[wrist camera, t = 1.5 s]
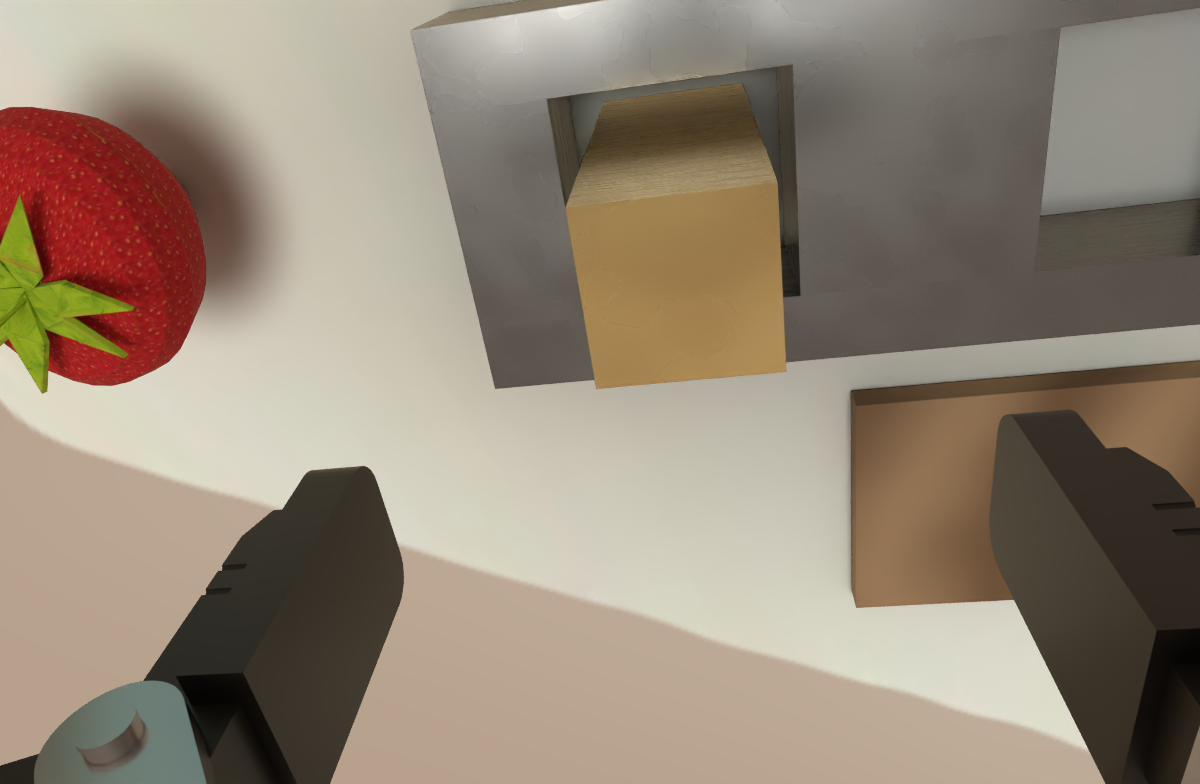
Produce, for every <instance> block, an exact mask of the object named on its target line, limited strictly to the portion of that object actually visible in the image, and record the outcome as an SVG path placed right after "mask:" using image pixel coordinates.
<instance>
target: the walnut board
mask: <svg viewBox="0 0 1200 784" xmlns="http://www.w3.org/2000/svg"><path fill="white" fill-rule="evenodd" d="M1068 409H1071V410H1074V411H1075V412H1077V413H1078V414H1079V415H1080V417H1081V418H1082V419H1083V420H1084V422H1085V423H1086V424H1087V425H1088V427H1089V428H1090V429H1091V430H1092V432H1093V433H1094V434H1095V435H1096V436H1097V438H1098V439H1099V440H1100V441H1101V443H1102V444H1103V445H1104V446H1105V448H1118V447H1127V448H1129V449H1131V450H1133V451H1134V452H1136V453H1138V454H1140V455H1141V456H1143V457H1145V458H1146V459H1148V460H1150V461H1152V462H1153V463H1155V464H1157V465H1159V466H1160V467H1162V468H1164V469H1165V470H1167V471H1169V473H1170V474H1171V475H1172V476H1173V477H1174V478H1175V479H1176V480H1177V482H1178V483H1179V484H1180V485H1181V486H1182V487H1183V488H1184V489H1185V491H1186V492H1187V493H1188V494H1189V495H1190V496H1191V497H1192V499H1193V500H1194V501H1195V506H1196V508H1199V507H1200V361H1194V362H1183V363H1171V364H1159V365H1148V366H1136V367H1124V368H1113V369H1101V370H1090V371H1078V372H1066V373H1055V374H1043V375H1032V376H1020V377H1008V378H997V379H985V380H973V381H962V382H950V383H939V384H927V385H915V386H904V387H892V388H880V389H869V390H857V391H851V547H852V593H853V597H854V601H855V605H856V608H862V607H881V606H901V605H920V604H940V603H959V602H978V601H998V600H1014V599H1013V597H1012V595H1011V593H1010V591H1009V589H1008V587H1007V585H1006V583H1005V581H1004V579H1003V577H1002V575H1001V573H1000V571H999V568H998V566H997V563H996V561H995V557H994V554H993V550H992V545H991V539H990V530H989V514H990V503H991V493H992V482H993V472H994V462H995V451H996V441H997V432H998V426H999V423H1000V420H1001V418H1002V417H1003V416H1004V415H1007V414H1019V413H1032V412H1044V411H1056V410H1068Z"/></svg>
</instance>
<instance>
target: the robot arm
mask: <svg viewBox="0 0 1200 784" xmlns="http://www.w3.org/2000/svg"><path fill="white" fill-rule="evenodd" d="M989 530H990V539H991V545H992V550H993V554H994V557H995V561H996V563H997V566H998V568H999V571H1000V573H1001V575H1002V577H1003V579H1004V581H1005V583H1006V585H1007V587H1008V589H1009V591H1010V593H1011V595H1012V597H1013V599H1014V601H1015V603H1016V605H1017V607H1018V609H1019V611H1020V613H1021V615H1022V617H1023V619H1024V621H1025V623H1026V625H1027V627H1028V629H1029V631H1030V633H1031V635H1032V637H1033V639H1034V641H1035V643H1036V645H1037V647H1038V649H1039V651H1040V653H1041V655H1042V657H1043V659H1044V661H1045V663H1046V665H1047V667H1048V669H1049V671H1050V673H1051V675H1052V677H1053V679H1054V681H1055V683H1056V685H1057V687H1058V689H1059V691H1060V693H1061V695H1062V697H1063V699H1064V701H1065V703H1066V705H1067V707H1068V709H1069V711H1070V713H1071V715H1072V717H1073V719H1074V721H1075V723H1076V725H1077V727H1078V729H1079V731H1080V733H1081V735H1082V737H1083V739H1084V741H1085V743H1086V745H1087V747H1088V749H1089V751H1090V753H1091V755H1092V757H1093V759H1094V761H1095V763H1096V765H1097V767H1098V769H1099V771H1100V773H1101V775H1102V777H1103V779H1104V781H1105V784H1200V507H1199V508H1196V506H1195V501H1194V500H1193V499H1192V497H1191V496H1190V495H1189V494H1188V493H1187V492H1186V491H1185V489H1184V488H1183V487H1182V486H1181V485H1180V484H1179V483H1178V482H1177V480H1176V479H1175V478H1174V477H1173V476H1172V475H1171V474H1170V473H1169V471H1167V470H1165V469H1164V468H1162V467H1160V466H1159V465H1157V464H1155V463H1153V462H1152V461H1150V460H1148V459H1146V458H1145V457H1143V456H1141V455H1140V454H1138V453H1136V452H1134V451H1133V450H1131V449H1129V448H1127V447H1118V448H1105V446H1104V445H1103V444H1102V443H1101V441H1100V440H1099V439H1098V438H1097V436H1096V435H1095V434H1094V433H1093V432H1092V430H1091V429H1090V428H1089V427H1088V425H1087V424H1086V423H1085V422H1084V420H1083V419H1082V418H1081V417H1080V415H1079V414H1078V413H1077V412H1075V411H1074V410H1071V409H1068V410H1056V411H1044V412H1032V413H1019V414H1007V415H1004V416H1003V417H1002V418H1001V420H1000V423H999V426H998V432H997V441H996V451H995V462H994V472H993V482H992V493H991V503H990V514H989ZM403 584H404V571H403V562H402V558H401V554H400V551H399V547H398V544H397V541H396V538H395V535H394V532H393V529H392V526H391V523H390V520H389V517H388V514H387V511H386V508H385V505H384V502H383V499H382V496H381V493H380V490H379V487H378V484H377V481H376V478H375V476H374V474H373V473H372V471H371V470H370V469H369V468H368V467H365V466H359V467H346V468H334V469H322V470H312V471H309V472H308V473H306V474H305V476H304V477H303V478H302V480H301V481H300V483H299V485H298V486H297V488H296V489H295V491H294V492H293V494H292V495H291V497H290V499H289V500H288V502H287V503H286V505H285V506H284V508H283V509H282V510H273V511H272V512H271V513H269V514H268V515H267V516H266V517H265V518H263V519H262V520H261V521H260V522H259V523H257V524H256V525H255V526H254V527H253V528H251V529H250V530H249V531H248V532H246V533H245V534H244V535H243V536H242V537H241V538H240V540H239V541H238V543H237V544H236V545H235V547H234V548H233V550H232V551H231V553H230V554H229V556H228V557H227V559H226V560H225V562H224V563H223V565H222V571H218V572H217V573H216V575H215V576H214V578H213V579H212V581H211V582H210V584H209V585H208V587H207V588H206V595H201V597H200V598H199V600H198V601H197V603H196V604H195V606H194V607H193V609H192V610H191V612H190V613H189V614H188V616H187V617H186V619H185V621H184V622H183V623H182V625H181V626H180V628H179V629H178V631H177V632H176V634H175V635H174V637H173V638H172V639H171V641H170V642H169V644H168V645H167V647H166V648H165V650H164V651H163V653H162V654H161V656H160V657H159V659H158V660H157V661H156V663H155V664H154V666H153V667H152V669H151V670H150V672H149V673H148V675H147V676H146V678H145V679H144V681H140V682H136V683H131V684H127V685H124V686H121V687H118V688H116V689H113V690H111V691H109V692H106V693H104V694H102V695H100V696H99V697H97V698H95V699H93V700H92V701H90V702H88V703H87V704H85V705H84V706H83V707H81V708H79V709H78V710H77V711H76V712H74V713H73V714H72V715H70V716H69V717H68V718H67V719H66V720H65V721H64V722H63V723H62V724H61V725H60V726H59V727H58V728H57V729H56V730H55V731H54V733H52V735H51V736H50V737H49V739H48V740H47V741H46V743H45V744H44V746H43V748H42V750H41V751H40V753H39V754H37V755H34V756H30V757H27V758H24V759H20V760H17V761H14V762H11V763H8V764H4V765H1V766H0V784H330V782H331V779H332V777H333V774H334V772H335V769H336V767H337V764H338V761H339V759H340V756H341V753H342V751H343V749H344V746H345V743H346V741H347V738H348V736H349V733H350V730H351V728H352V725H353V723H354V720H355V718H356V715H357V712H358V710H359V707H360V705H361V702H362V700H363V697H364V694H365V692H366V689H367V687H368V684H369V681H370V679H371V676H372V674H373V671H374V668H375V666H376V664H377V660H378V658H379V656H380V653H381V651H382V648H383V645H384V643H385V640H386V638H387V635H388V633H389V630H390V627H391V625H392V622H393V620H394V617H395V614H396V612H397V609H398V607H399V604H400V601H401V598H402V592H403Z"/></svg>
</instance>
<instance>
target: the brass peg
mask: <svg viewBox="0 0 1200 784" xmlns="http://www.w3.org/2000/svg"><path fill="white" fill-rule="evenodd" d="M565 209H566V215H567V221H568V226H569V232H570V238H571V244H572V250H573V256H574V262H575V267H576V273H577V279H578V285H579V291H580V297H581V302H582V308H583V314H584V320H585V326H586V332H587V338H588V343H589V349H590V355H591V361H592V367H593V373H594V378H595V384H596V389H600V388H611V387H622V386H633V385H644V384H655V383H666V382H677V381H688V380H700V379H711V378H722V377H733V376H744V375H755V374H766V373H777V372H786V354H785V332H784V310H783V288H782V266H781V245H780V223H779V201H778V182H777V179H776V176H775V174H774V171H773V168H772V165H771V162H770V160H769V157H768V154H767V151H766V149H765V146H764V143H763V140H762V137H761V135H760V132H759V129H758V126H757V124H756V121H755V118H754V115H753V112H752V110H751V107H750V104H749V101H748V99H747V96H746V93H745V90H744V87H743V85H742V83H738V84H730V85H723V86H716V87H709V88H701V89H694V90H687V91H680V92H672V93H665V94H658V95H650V96H643V97H636V98H629V99H621V100H614V101H607V102H604V103H603V106H602V109H601V111H600V114H599V117H598V120H597V122H596V125H595V128H594V131H593V133H592V136H591V139H590V142H589V144H588V147H587V150H586V153H585V155H584V158H583V161H582V164H581V166H580V169H579V172H578V175H577V177H576V180H575V183H574V186H573V188H572V191H571V194H570V197H569V199H568V202H567V205H566V208H565Z"/></svg>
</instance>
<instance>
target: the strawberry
mask: <svg viewBox="0 0 1200 784" xmlns="http://www.w3.org/2000/svg"><path fill="white" fill-rule="evenodd" d="M205 285H206V260H205V254H204V247H203V242H202V237H201V233H200V229H199V224H198V221H197V218H196V214H195V211H194V208H193V206H192V204H191V202H190V200H189V198H188V195H187V194H186V192H185V190H184V189H183V187H182V186H181V184H180V183H179V181H178V180H177V179H176V177H175V176H174V175H173V174H172V173H171V171H170V170H169V169H168V168H167V167H166V166H165V165H164V164H162V163H161V162H160V161H159V160H158V159H157V158H156V157H155V156H154V155H152V154H151V153H150V152H149V151H148V150H147V149H146V148H144V147H143V146H142V145H141V144H140V143H139V142H138V141H136V140H135V139H133V138H132V137H130V136H129V135H127V134H126V133H124V132H123V131H122V130H120V129H119V128H117V127H115V126H113V125H111V124H109V123H106V122H104V121H102V120H100V119H98V118H94V117H90V116H86V115H82V114H78V113H70V112H63V111H56V110H49V109H42V108H35V107H9V108H6V109H3V110H0V346H1V345H2V344H3V343H5V344H6V345H7V346H8V347H10V348H11V349H12V350H14V351H15V352H16V353H17V354H18V355H19V357H20V358H21V360H22V362H23V363H24V365H25V367H26V368H27V370H28V371H29V373H30V375H31V376H32V378H33V380H34V381H35V383H36V384H37V386H38V388H39V389H40V391H41V393H42V394H43V393H45V392H47V385H48V371H51V372H53V373H56V374H58V375H61V376H63V377H66V378H68V379H70V380H73V381H77V382H81V383H86V384H90V385H104V386H113V385H117V384H121V383H126V382H130V381H132V380H134V379H136V378H138V377H141V376H143V375H145V374H147V373H149V372H152V371H154V370H156V369H157V368H159V367H161V366H162V365H164V364H166V363H168V362H169V361H170V360H171V359H172V358H173V357H174V356H175V354H176V353H177V352H178V351H179V350H180V349H181V347H182V345H183V343H184V341H185V339H186V337H187V335H188V333H189V330H190V328H191V325H192V323H193V321H194V318H195V316H196V314H197V311H198V309H199V307H200V304H201V302H202V299H203V295H204V290H205Z"/></svg>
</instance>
